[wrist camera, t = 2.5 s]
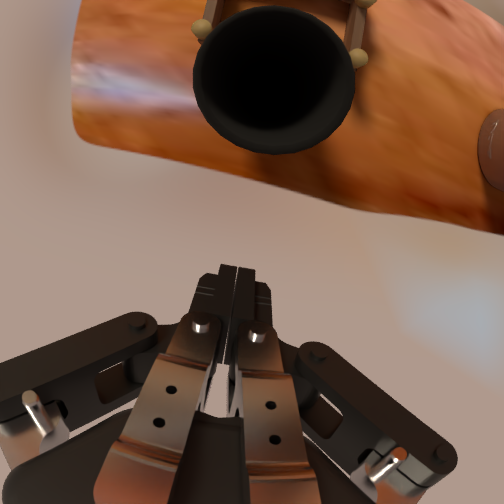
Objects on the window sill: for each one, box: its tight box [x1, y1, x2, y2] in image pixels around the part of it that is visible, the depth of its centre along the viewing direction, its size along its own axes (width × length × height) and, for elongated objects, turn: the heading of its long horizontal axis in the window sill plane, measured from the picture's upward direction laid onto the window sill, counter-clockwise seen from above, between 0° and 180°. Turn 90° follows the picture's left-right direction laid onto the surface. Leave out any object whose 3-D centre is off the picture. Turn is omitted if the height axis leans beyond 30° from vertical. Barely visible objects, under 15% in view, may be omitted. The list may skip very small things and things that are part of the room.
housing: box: [191, 0, 377, 72], centre depth 18 cm, size 13×8×4 cm, turn 80°
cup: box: [193, 5, 355, 155], centre depth 18 cm, size 8×8×12 cm
